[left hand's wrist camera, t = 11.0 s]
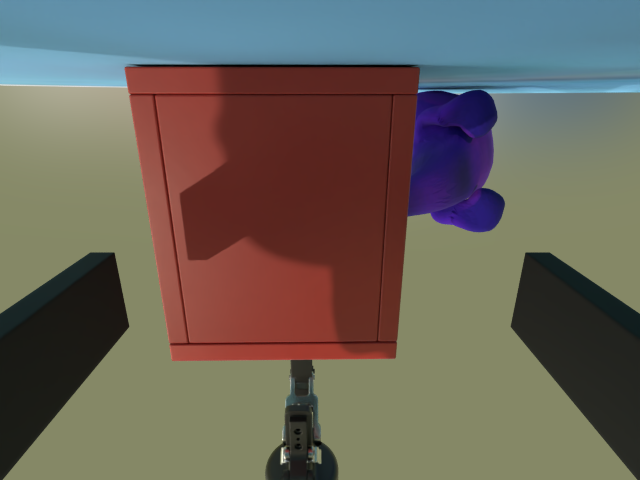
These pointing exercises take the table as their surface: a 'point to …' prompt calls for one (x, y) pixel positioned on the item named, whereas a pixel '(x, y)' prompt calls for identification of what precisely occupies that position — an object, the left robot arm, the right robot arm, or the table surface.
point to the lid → (283, 350)
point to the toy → (454, 160)
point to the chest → (277, 198)
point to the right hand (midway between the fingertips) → (299, 373)
